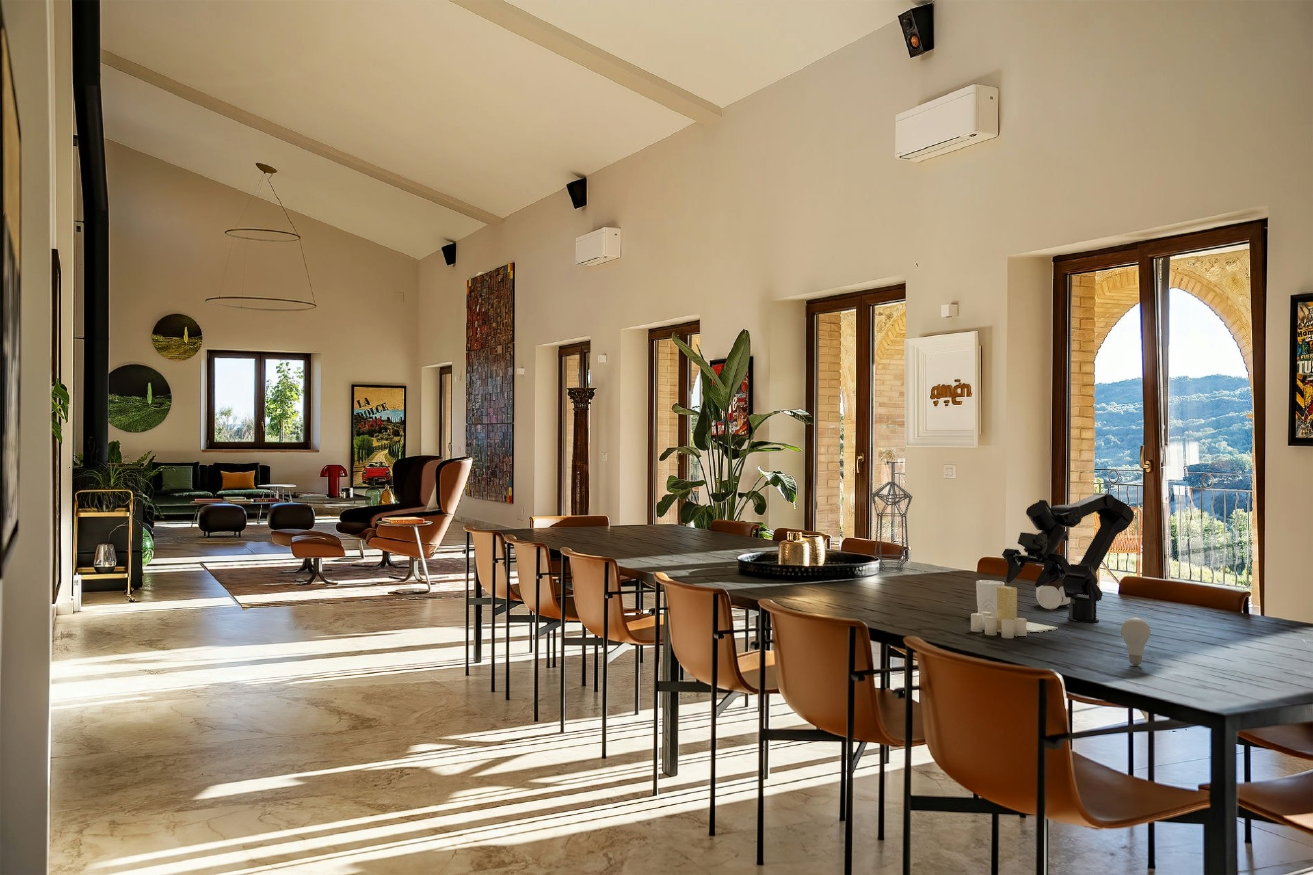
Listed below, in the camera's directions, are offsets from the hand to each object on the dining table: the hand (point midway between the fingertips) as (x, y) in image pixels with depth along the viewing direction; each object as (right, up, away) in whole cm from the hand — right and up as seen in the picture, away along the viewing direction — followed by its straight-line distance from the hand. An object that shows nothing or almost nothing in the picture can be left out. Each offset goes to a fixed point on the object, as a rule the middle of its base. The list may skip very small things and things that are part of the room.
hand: (1021, 584), depth 273 cm
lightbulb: (+10, -13, -43) cm, 46 cm away
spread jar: (+24, -13, +38) cm, 46 cm away
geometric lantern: (-6, -13, +127) cm, 128 cm away
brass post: (-5, -12, -3) cm, 14 cm away
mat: (+3, -12, +2) cm, 13 cm away
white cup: (-2, -13, +21) cm, 25 cm away
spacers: (-8, -12, -5) cm, 16 cm away
